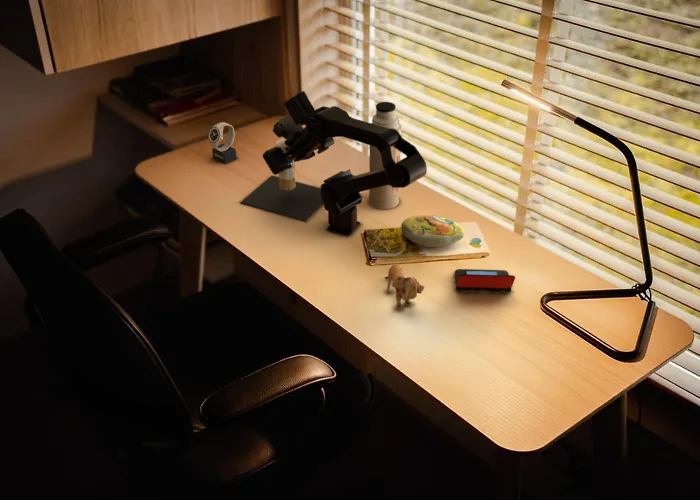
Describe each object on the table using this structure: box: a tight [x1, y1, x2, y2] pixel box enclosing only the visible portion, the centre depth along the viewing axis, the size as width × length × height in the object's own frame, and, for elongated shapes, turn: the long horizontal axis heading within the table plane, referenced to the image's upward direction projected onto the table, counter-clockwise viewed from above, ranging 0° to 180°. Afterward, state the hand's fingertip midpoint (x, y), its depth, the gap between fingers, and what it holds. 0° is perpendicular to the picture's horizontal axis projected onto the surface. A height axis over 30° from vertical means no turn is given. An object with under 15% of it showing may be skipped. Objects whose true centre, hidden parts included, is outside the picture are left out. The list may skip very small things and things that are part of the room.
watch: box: [207, 121, 238, 165], centre depth 229 cm, size 6×8×11 cm
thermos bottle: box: [368, 101, 402, 210], centre depth 204 cm, size 8×8×28 cm
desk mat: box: [240, 175, 324, 222], centre depth 214 cm, size 20×16×1 cm
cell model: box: [400, 214, 465, 248], centre depth 195 cm, size 11×8×15 cm
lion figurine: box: [384, 263, 425, 311], centre depth 176 cm, size 15×5×9 cm, turn 25°
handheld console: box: [454, 268, 516, 293], centre depth 179 cm, size 12×11×7 cm
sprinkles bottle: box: [275, 138, 296, 191], centre depth 208 cm, size 5×5×13 cm
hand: (282, 163), depth 209 cm, fingers closed on sprinkles bottle, 4 cm apart
